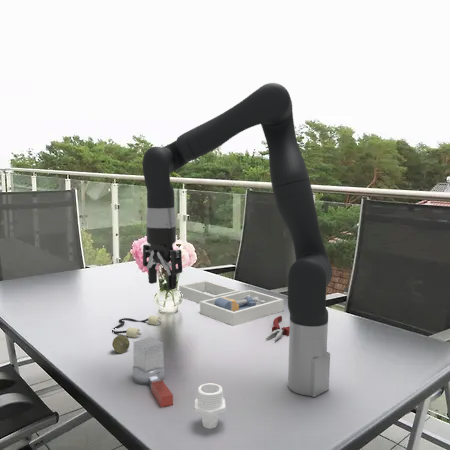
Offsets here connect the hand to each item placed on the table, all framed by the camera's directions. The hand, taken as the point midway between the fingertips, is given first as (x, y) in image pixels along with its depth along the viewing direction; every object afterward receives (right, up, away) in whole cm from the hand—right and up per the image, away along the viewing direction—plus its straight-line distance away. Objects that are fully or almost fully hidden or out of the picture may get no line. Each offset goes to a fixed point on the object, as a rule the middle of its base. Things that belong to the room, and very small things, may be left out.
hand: (162, 286), depth 120 cm
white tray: (+23, -17, +53) cm, 61 cm away
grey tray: (+10, -15, +71) cm, 73 cm away
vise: (+22, -18, +51) cm, 59 cm away
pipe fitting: (+13, -26, -24) cm, 38 cm away
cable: (-15, -20, +34) cm, 42 cm away
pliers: (+35, -20, +34) cm, 53 cm away
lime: (-14, -22, +14) cm, 30 cm away
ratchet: (-1, -24, -7) cm, 25 cm away
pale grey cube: (-3, -21, -3) cm, 21 cm away
